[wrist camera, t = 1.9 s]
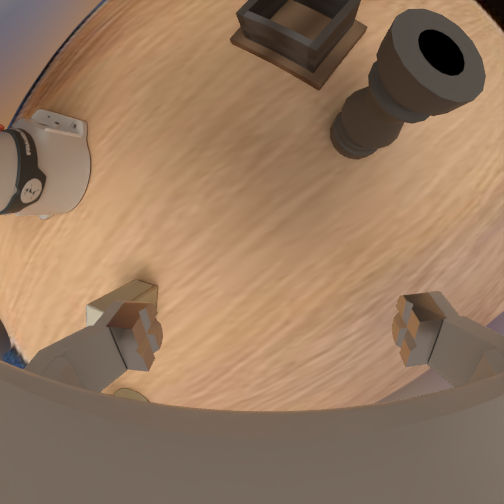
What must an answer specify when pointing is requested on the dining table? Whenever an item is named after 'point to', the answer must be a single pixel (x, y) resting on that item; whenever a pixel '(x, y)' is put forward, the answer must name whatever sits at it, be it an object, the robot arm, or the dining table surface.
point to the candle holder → (409, 82)
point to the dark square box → (300, 34)
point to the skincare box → (121, 298)
